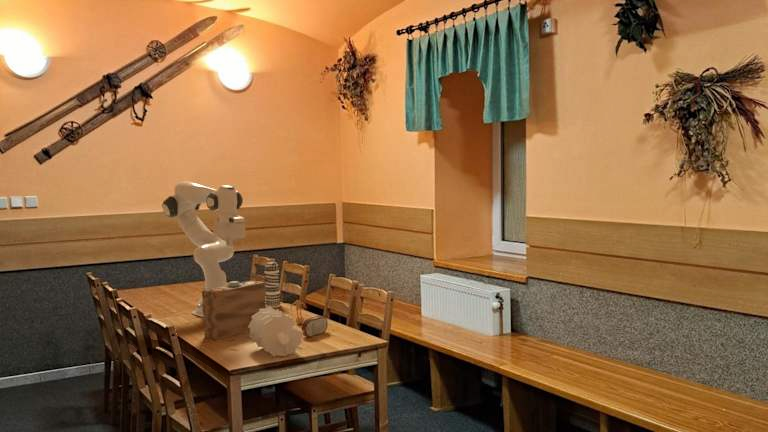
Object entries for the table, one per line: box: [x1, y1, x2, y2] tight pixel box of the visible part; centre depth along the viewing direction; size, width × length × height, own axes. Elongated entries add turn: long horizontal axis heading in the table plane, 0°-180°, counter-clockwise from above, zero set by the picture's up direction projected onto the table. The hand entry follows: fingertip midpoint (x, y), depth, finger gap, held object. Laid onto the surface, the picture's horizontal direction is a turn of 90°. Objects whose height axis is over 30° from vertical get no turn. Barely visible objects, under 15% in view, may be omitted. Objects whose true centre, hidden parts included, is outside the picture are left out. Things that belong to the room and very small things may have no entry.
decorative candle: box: [263, 261, 282, 309], centre depth 388 cm, size 9×9×25 cm
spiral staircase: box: [248, 307, 304, 358], centre depth 292 cm, size 18×18×25 cm
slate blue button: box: [228, 280, 240, 288], centre depth 330 cm, size 5×5×2 cm
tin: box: [301, 315, 328, 338], centre depth 319 cm, size 15×3×8 cm, turn 141°
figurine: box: [290, 299, 308, 325], centre depth 343 cm, size 8×6×12 cm
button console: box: [201, 280, 267, 340], centre depth 331 cm, size 10×30×22 cm, turn 143°
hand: (229, 246), depth 339 cm, fingers closed
